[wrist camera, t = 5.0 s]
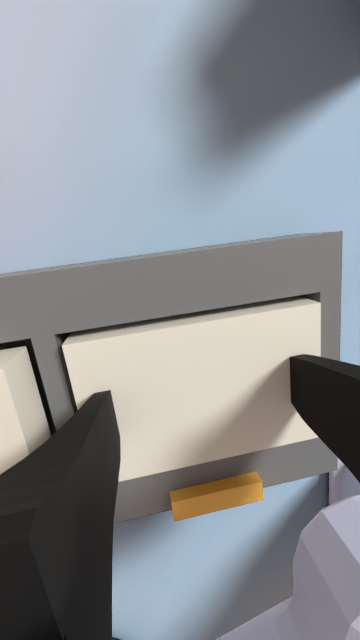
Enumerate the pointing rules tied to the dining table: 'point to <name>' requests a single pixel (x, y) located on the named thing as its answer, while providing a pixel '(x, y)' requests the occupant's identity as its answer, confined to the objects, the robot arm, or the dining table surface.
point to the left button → (19, 409)
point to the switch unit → (167, 300)
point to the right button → (198, 381)
